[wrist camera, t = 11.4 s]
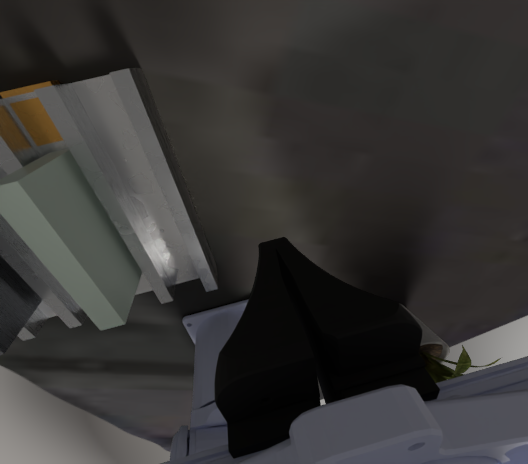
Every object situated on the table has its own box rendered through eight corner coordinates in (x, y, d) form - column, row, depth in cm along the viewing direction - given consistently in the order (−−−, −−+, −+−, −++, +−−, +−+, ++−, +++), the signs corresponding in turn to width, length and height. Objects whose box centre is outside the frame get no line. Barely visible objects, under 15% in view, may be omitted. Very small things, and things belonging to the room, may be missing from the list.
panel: (144, 265, 22) (125, 324, 17) (125, 270, 22) (100, 330, 17) (75, 146, 17) (17, 181, 12) (49, 152, 17) (-20, 189, 12)
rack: (216, 266, 25) (219, 328, 19) (42, 312, 24) (-12, 391, 18) (139, 62, 16) (97, 59, 10) (-143, 125, 15) (-365, 163, 9)
